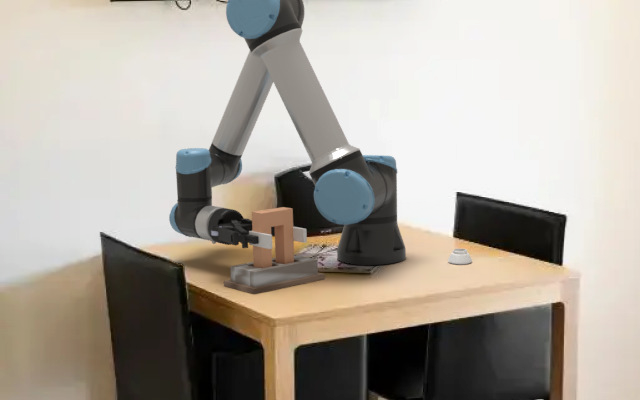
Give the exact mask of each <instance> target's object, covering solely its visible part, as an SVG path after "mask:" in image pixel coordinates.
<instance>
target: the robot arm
mask: <svg viewBox="0 0 640 400" xmlns="http://www.w3.org/2000/svg"><path fill="white" fill-rule="evenodd" d="M225 15H226V20H227V23H228V25H229V27H230V29H231V30H232V31H233V33H235V34H236V35H237V36H238V37H240V38H243V39H244V41H245V43H246V45H247V47H248V49H249V51H248V54H247V56H246V59H245V62H244V63H243V66H242V68H241V71H240V73H239V76H238V78H237V80H236V83H235V85H234V88H233V90H232V92H231V95H230V97H229V100H228V103H227V105H226V107H225V109H224V112H223V114H222V117H221V120H220V121H219V123H218V127H217V128H216V132H215V133H214V136H213V139H212V140H211V144H210V146H209V148H203V147H197V148H196V147H194V148H193V147H192V148H191V147H190V148H181V149H179V150H178V151H177V152H176V156H175V157H176V158H175V159H176V160H175V174H176V175H175V176H176V191H177V203H175V204H174V205H173V206H172V207H171V210H170V213H169V219H168V220H169V223H170V226H171V228H172V229H173V230H174V231H175V232H176V233H178V234H181V235H182V236H183V235H184V236H185V237H188V238H195V239H202V240H205V241H210V242H211V243H212V244H213V245H215V244H217V243H218V244H223V245H226V246H231V245H232V246H235V247H236V246H239V244H241V248H242V249H249V245H250V246H252V247H253V246H258V247H262V248H267V249H272V250H273V237H275V226H274V227H271V235H270V234H265V233H260V232H255V231H252V219H250V218H244V216H243V215H242V214H241V213H240V212H239V211H238V210H235V209H231V208H226V207H222V206H221V207H220V206H215V205H213V189H212V188H215V187H218V186H221V185H227V184H229V183H231V182H233V181H235V180H236V179H237V178H239V176H240V175H241V172H242V170H243V162H242V156H243V154H244V153H245V152H244V151H245V149H246V147H247V145H248V142H249V140H250V138H251V136H252V132H253V130H254V128H255V127H256V123H257V121H258V119H259V116H260V115H261V112H262V110H263V107H264V105H265V103H266V100H267V98H268V95H269V93H270V91H271V89H272V86H273V85H274V87H275V89H276V90H277V92H278V95H279V96H280V98H281V101H282V103H283V104H284V107H285V109H286V111H287V113H288V115H289V118H290V120H291V122H292V124H293V126H294V127H295V130H296V132H297V134H298V136H299V139H300V140H301V143H302V144H303V147H304V148H305V151H306V153H307V155H308V157H309V160H310V161H311V165H310V168H309V172H308V174H309V176H310V178H311V180H312V183H313V184H314V190H313V200H314V204H315V206H316V209H317V211H318V212H319V214H321V216H322V217H323V218H325V219H326V220H327V221H329V222H331V223H334V224H337V225H343V227H342V228H343V229H342V232H341V236H340V238H339V242H338V245H337V249H336V250H337V251H336V254H337V256H336V257H337V260H338V261H339V260H340V261H339V262H341V261H342V262H341V263H344V262H345V263H344V264H349V263H350V265H359V266H360V265H361V266H378V265H379V266H380V265H389V264H396V263H399V262H403V261H404V260H406V258H407V257H406V254H407V252H406V245H405V243H404V239H403V236H402V234H401V231H400V227H399V226H398V189H397V187H398V186H397V184H398V183H397V182H398V181H397V180H398V178H397V176H398V175H397V174H398V169H397V162H396V161H397V160H396V158H395V157H393V155H392V156H391V155H380V154H379V155H378V154H375V155H374V154H371V155H370V154H362V150H361V149H360V148H358V147H356V146H354V145H351V144H350V143H349V141H348V139H347V136H346V134H345V133H344V131H343V129H342V126H341V125H340V122H339V121H338V118H337V116H336V113H335V112H334V110H333V108H332V105H331V104H330V101H329V100H328V98H327V95H326V94H325V91H324V90H323V87H322V85H321V83H320V81H319V79H318V77H317V75H316V73H315V70H314V69H313V66H312V64H311V62H310V60H309V57H308V56H307V54H306V51H305V50H304V48H303V45H302V43H301V42H300V41H301V37H302V35H303V29H302V26H303V24H304V19H305V5H304V1H303V0H227V4H226V7H225ZM307 236H308V234H307V228H303V227H298V226H295V224H294V222H293V241H294V242H297V243H303V244H304V243H307V242H308V241H307V240H308V239H307Z"/></svg>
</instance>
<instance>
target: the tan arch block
mask: <svg viewBox="0 0 640 400" xmlns="http://www.w3.org/2000/svg"><path fill="white" fill-rule="evenodd" d="M293 210H294V209H293V208H291V207H285V206H281V207H276V208H269V209H261V210H254V211H251V220H252V231H255V232H260V233H265V234H270V235H271V227H274V226H275V236H274V251H275V252H274V253H275V257H274V258H275V259H276V263H281V264H288V263H293V262H294V255H295V248H294V246H295V245H294V243H295V241H293V223H294V213H293V212H294V211H293ZM252 257H253V261H252V262H253V265H254V267H257V268H261V269H263V268H268V267H272V258H273V248H272V249H267V248H262V247H258V246H253V245H252Z"/></svg>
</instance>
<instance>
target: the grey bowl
mask: <svg viewBox="0 0 640 400" xmlns="http://www.w3.org/2000/svg"><path fill="white" fill-rule="evenodd" d="M447 262H448V263H449V264H452V265H456V266H457V265H461V266H462V265H469V264H470V263H472V262H473V259H472V256H471V255H470V253H469V252H468V249H466V248H454V249H452V252H451V253H450V255H449V257H448V259H447Z"/></svg>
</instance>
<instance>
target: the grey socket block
mask: <svg viewBox="0 0 640 400" xmlns="http://www.w3.org/2000/svg"><path fill="white" fill-rule="evenodd" d="M229 267H230V268H229V269H230V279H229V280H223V287H226V288H230V289H234V290H237V291H240V292H241V291H242V292H246V293H250V294H252V295H257V294H260V293H265V292H270V291H275V290H279V289H280V290H281V289H285V288H289V287H294V286H298V285H304V284H308V283H311V282H317V281H322V280H326V276H325V275H326V273H322V272H318V271H319V270H318V267H319V266H318V259H316V258H310V257H305V256H302V255H297V254H294V262H293V263H288V264H281V263H276V259H275V257H272V267H268V268H263V269H261V268H257V267H254V265H253V261H251V262H247V263H246V262H245V263H241V264H234V265H231V266H229Z"/></svg>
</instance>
